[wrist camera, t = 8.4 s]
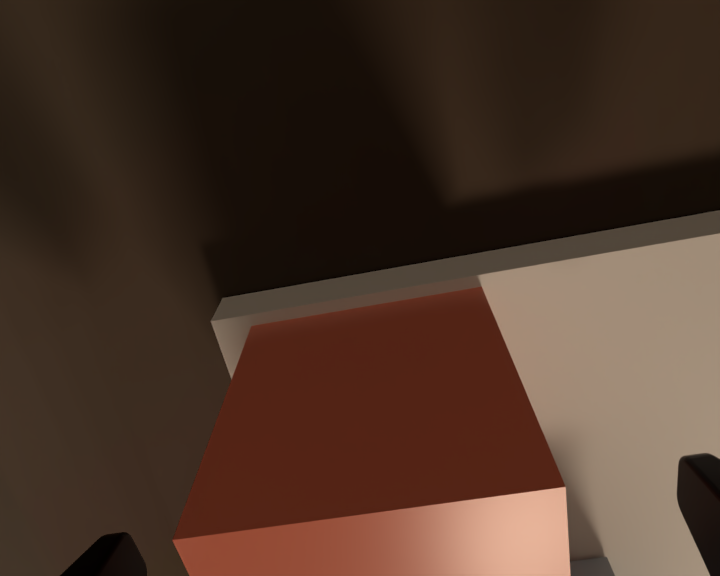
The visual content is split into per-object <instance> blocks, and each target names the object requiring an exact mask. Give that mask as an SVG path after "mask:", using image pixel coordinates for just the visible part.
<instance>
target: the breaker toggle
mask: <svg viewBox="0 0 720 576" xmlns="http://www.w3.org/2000/svg"><path fill="white" fill-rule="evenodd" d="M570 574H571V576H615V574H614V572H613V570H612V568H611V565H610V563H609V561H608V559H607V557H602V558H594V559H586V560H578V561H570Z"/></svg>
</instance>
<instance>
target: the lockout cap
mask: <svg viewBox="0 0 720 576" xmlns="http://www.w3.org/2000/svg"><path fill="white" fill-rule="evenodd" d="M173 542H174V545H175V547H176V549H177V551H178V553H179V555H180V557H181V559H182V561H183V563H184V565H185V567H186V569H187V571H188V573H189V575H190V576H571V574H570V556H569V538H568V520H567V501H566V486H565V484H564V482H563V479H562V477H561V474H560V472H559V470H558V467H557V465H556V463H555V460H554V458H553V455H552V453H551V451H550V448H549V446H548V443H547V441H546V439H545V436H544V434H543V432H542V429H541V427H540V424H539V422H538V420H537V417H536V415H535V412H534V410H533V408H532V405H531V403H530V401H529V398H528V396H527V393H526V391H525V389H524V386H523V384H522V381H521V379H520V377H519V374H518V372H517V370H516V367H515V365H514V362H513V360H512V358H511V355H510V353H509V350H508V348H507V346H506V343H505V341H504V339H503V336H502V334H501V331H500V329H499V327H498V324H497V322H496V319H495V317H494V315H493V312H492V310H491V308H490V305H489V303H488V300H487V298H486V296H485V293H484V291H483V288H482V287H477V288H471V289H465V290H459V291H453V292H447V293H441V294H436V295H430V296H424V297H418V298H412V299H406V300H401V301H395V302H389V303H383V304H377V305H371V306H365V307H360V308H354V309H348V310H342V311H336V312H330V313H324V314H319V315H313V316H307V317H301V318H295V319H289V320H284V321H278V322H272V323H266V324H260V325H254V326H251V328H250V331H249V334H248V336H247V339H246V342H245V345H244V347H243V350H242V353H241V355H240V358H239V361H238V364H237V366H236V369H235V372H234V374H233V377H232V380H231V383H230V385H229V388H228V391H227V393H226V396H225V399H224V402H223V404H222V407H221V410H220V412H219V415H218V418H217V421H216V423H215V426H214V429H213V431H212V434H211V437H210V440H209V442H208V445H207V448H206V450H205V453H204V456H203V459H202V461H201V464H200V467H199V469H198V472H197V475H196V478H195V480H194V483H193V486H192V488H191V491H190V494H189V496H188V499H187V502H186V505H185V507H184V510H183V513H182V515H181V518H180V521H179V524H178V526H177V529H176V532H175V534H174V537H173Z"/></svg>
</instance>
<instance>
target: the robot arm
mask: <svg viewBox="0 0 720 576" xmlns="http://www.w3.org/2000/svg"><path fill="white" fill-rule="evenodd" d="M677 501H678V505H679V508H680V511H681V513H682V515H683V517H684V520H685V522H686V524H687V526H688V528H689V530H690V533H691V535H692V537H693V539H694V541H695V544H696V546H697V548H698V550H699V552H700V554H701V557H702V559H703V561H704V563H705V565H706V568H707V570H708V572H709V574H710V576H720V459H719V458H718V457H716V456H714V455H712V454H709V453H699V454H692V455H685V456H682V457H681V458H680V460H679V463H678V477H677ZM60 576H147V568H146V564H145V562H144V560H143V558H142V556H141V554H140V552H139V550H138V548H137V546H136V545H135V543H134V541H133V539H132V537H131V536H130V535H129V534H128V533H126V532H121V533H114V534H107V535H104V536H102V537H100V538H99V539H98V540H97V541H96V542H95V543H94V544H93V545H92V546H91V547H89V548H88V549H87V550H86V551H85V552H84V553H83V554H82V555H81V556H80V557H79V558H78V559H77V560H76V561H75V562H74V563H73V564H72V565H71V566H70V567H69V568H68V569H67V570H65V571H64V572H63V573H62V574H61V575H60Z"/></svg>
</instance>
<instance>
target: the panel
mask: <svg viewBox="0 0 720 576" xmlns="http://www.w3.org/2000/svg"><path fill="white" fill-rule="evenodd" d="M477 287H482V288H483V291H484V293H485V296H486V298H487V300H488V303H489V305H490V308H491V310H492V312H493V315H494V317H495V319H496V322H497V324H498V327H499V329H500V331H501V334H502V336H503V339H504V341H505V343H506V346H507V348H508V350H509V353H510V355H511V358H512V360H513V362H514V365H515V367H516V370H517V372H518V374H519V377H520V379H521V381H522V384H523V386H524V389H525V391H526V393H527V396H528V398H529V401H530V403H531V405H532V408H533V410H534V412H535V415H536V417H537V420H538V422H539V424H540V427H541V429H542V432H543V434H544V436H545V439H546V441H547V443H548V446H549V448H550V451H551V453H552V455H553V458H554V460H555V463H556V465H557V467H558V470H559V472H560V474H561V477H562V479H563V482H564V484H565V486H566V501H567V520H568V538H569V556H570V561H578V560H586V559H594V558H602V557H607V559H608V561H609V563H610V565H611V568H612V570H613V572H614V574H615V576H710V574H709V572H708V570H707V568H706V565H705V563H704V561H703V559H702V557H701V554H700V552H699V550H698V548H697V546H696V544H695V541H694V539H693V537H692V535H691V533H690V530H689V528H688V526H687V524H686V522H685V520H684V517H683V515H682V513H681V511H680V508H679V505H678V501H677V477H678V463H679V460H680V458H681V457H682V456H685V455H692V454H699V453H709V454H712V455H714V456H716V457H718V458H719V459H720V210H718V211H713V212H707V213H701V214H696V215H690V216H685V217H679V218H673V219H668V220H662V221H656V222H651V223H645V224H639V225H634V226H628V227H622V228H617V229H611V230H605V231H600V232H594V233H588V234H583V235H577V236H571V237H566V238H560V239H554V240H549V241H543V242H537V243H532V244H526V245H520V246H515V247H509V248H503V249H498V250H492V251H486V252H481V253H475V254H469V255H464V256H458V257H452V258H447V259H441V260H435V261H430V262H424V263H418V264H413V265H407V266H401V267H396V268H390V269H384V270H379V271H373V272H367V273H362V274H356V275H351V276H345V277H339V278H334V279H328V280H322V281H317V282H311V283H305V284H300V285H294V286H288V287H283V288H277V289H271V290H266V291H260V292H254V293H249V294H243V295H237V296H232V297H226V298H222V300H221V302H220V304H219V306H218V308H217V310H216V312H215V314H214V316H213V318H212V320H211V323H212V326H213V329H214V332H215V335H216V337H217V340H218V343H219V346H220V349H221V351H222V354H223V357H224V360H225V362H226V365H227V368H228V371H229V374H230V376H231V379H232V377H233V374H234V372H235V369H236V366H237V364H238V361H239V358H240V355H241V353H242V350H243V347H244V345H245V342H246V339H247V336H248V334H249V331H250V328H251V326H254V325H260V324H266V323H272V322H278V321H284V320H289V319H295V318H301V317H307V316H313V315H319V314H324V313H330V312H336V311H342V310H348V309H354V308H360V307H365V306H371V305H377V304H383V303H389V302H395V301H401V300H406V299H412V298H418V297H424V296H430V295H436V294H441V293H447V292H453V291H459V290H465V289H471V288H477Z"/></svg>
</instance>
